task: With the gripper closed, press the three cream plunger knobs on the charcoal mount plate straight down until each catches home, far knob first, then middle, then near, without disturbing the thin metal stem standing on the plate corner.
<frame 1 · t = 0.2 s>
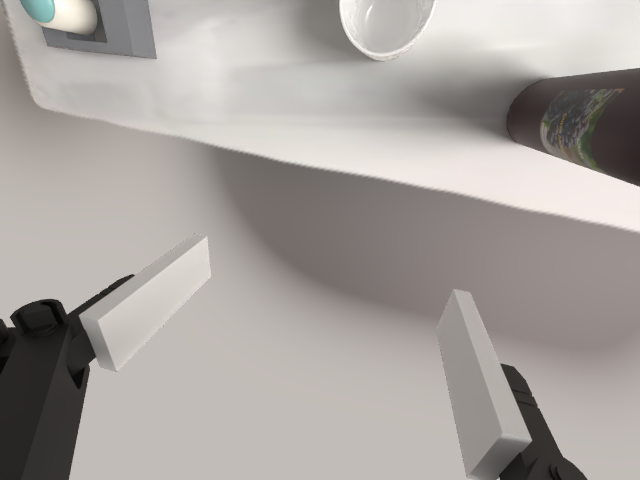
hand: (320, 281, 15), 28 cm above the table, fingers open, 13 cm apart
wine bottle: (538, 113, 32), on the table
white cup: (387, 26, 31), on the table
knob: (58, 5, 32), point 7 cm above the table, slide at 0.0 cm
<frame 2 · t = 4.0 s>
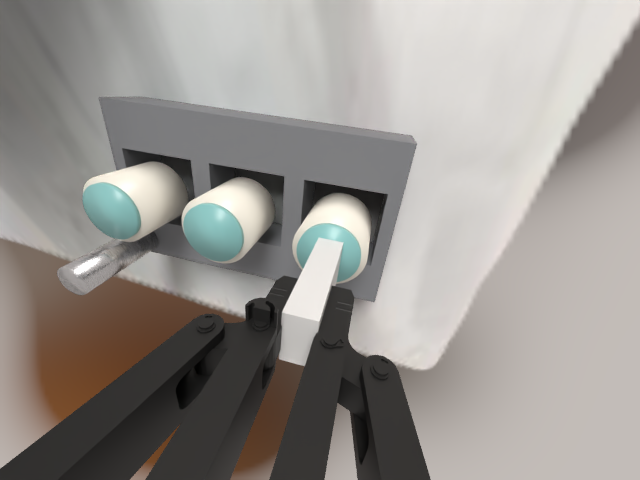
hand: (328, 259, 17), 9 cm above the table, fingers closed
knob middle: (231, 219, 20), point 7 cm above the table, slide at 0.0 cm
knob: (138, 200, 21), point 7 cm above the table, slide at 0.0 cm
mount plate: (265, 191, 25), on the table
pot stem: (146, 237, 26), point 4 cm above the table, touching mount plate
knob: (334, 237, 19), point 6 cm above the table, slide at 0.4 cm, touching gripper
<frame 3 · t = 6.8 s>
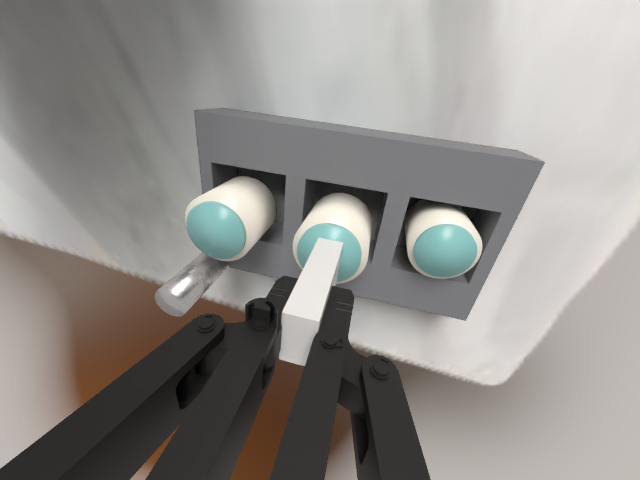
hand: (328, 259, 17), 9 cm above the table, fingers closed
knob middle: (334, 237, 19), point 6 cm above the table, slide at 0.1 cm, touching gripper
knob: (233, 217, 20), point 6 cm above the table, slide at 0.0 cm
mount plate: (346, 205, 25), on the table
pot stem: (223, 252, 25), point 4 cm above the table, touching mount plate
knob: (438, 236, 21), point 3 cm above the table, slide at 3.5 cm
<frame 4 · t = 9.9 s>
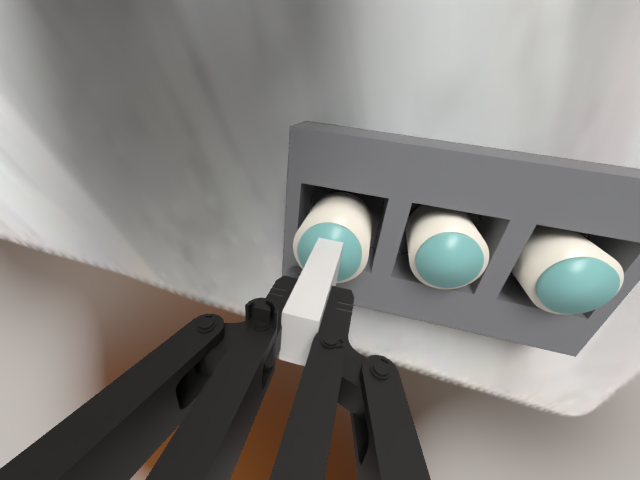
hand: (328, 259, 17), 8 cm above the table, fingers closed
knob middle: (442, 244, 20), point 3 cm above the table, slide at 3.5 cm
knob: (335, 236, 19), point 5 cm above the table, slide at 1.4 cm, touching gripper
mount plate: (436, 227, 22), on the table
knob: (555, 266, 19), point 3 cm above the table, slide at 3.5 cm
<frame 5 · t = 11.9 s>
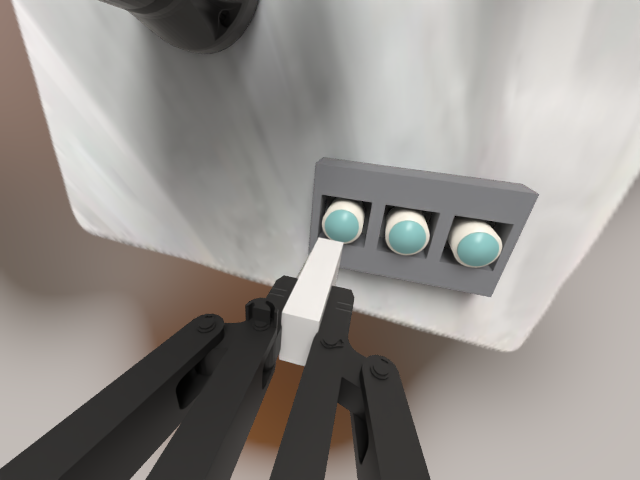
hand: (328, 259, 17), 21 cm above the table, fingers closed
knob middle: (406, 229, 33), point 3 cm above the table, slide at 3.5 cm
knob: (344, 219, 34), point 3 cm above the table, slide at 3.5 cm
mount plate: (404, 220, 36), on the table
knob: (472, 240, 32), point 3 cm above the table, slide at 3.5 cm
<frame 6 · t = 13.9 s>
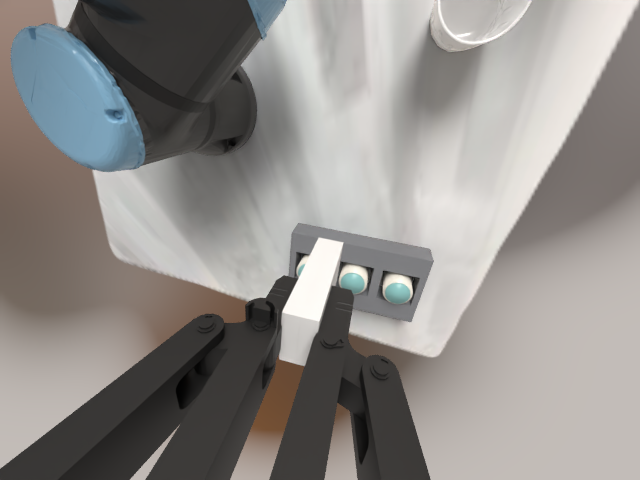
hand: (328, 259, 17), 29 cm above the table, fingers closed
knob middle: (354, 275, 48), point 3 cm above the table, slide at 3.5 cm
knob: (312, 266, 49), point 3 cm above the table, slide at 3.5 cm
mount plate: (355, 266, 51), on the table
white cup: (459, 18, 33), on the table
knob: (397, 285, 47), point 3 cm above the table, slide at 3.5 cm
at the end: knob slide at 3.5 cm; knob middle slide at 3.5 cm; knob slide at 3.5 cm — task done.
